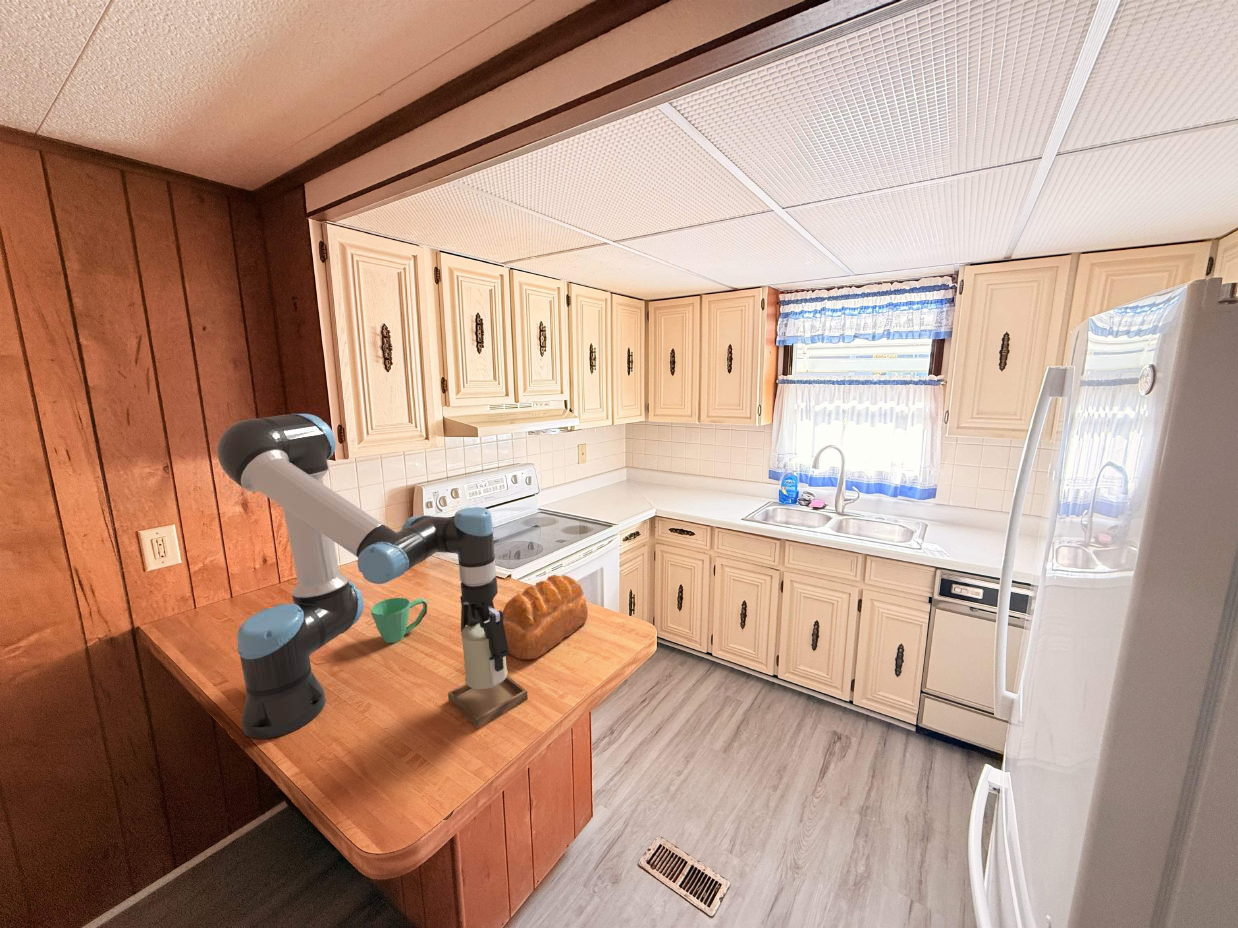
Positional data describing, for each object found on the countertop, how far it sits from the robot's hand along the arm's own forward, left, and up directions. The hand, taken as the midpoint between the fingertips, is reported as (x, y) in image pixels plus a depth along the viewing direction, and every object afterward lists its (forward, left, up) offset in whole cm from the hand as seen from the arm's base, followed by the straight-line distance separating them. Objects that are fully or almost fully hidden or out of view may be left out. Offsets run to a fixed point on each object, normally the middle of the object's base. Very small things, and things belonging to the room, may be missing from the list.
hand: (486, 672), depth 108 cm
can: (0, 0, -1) cm, 1 cm away
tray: (0, 0, -7) cm, 7 cm away
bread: (+26, +13, -7) cm, 30 cm away
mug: (-2, +42, -7) cm, 43 cm away
